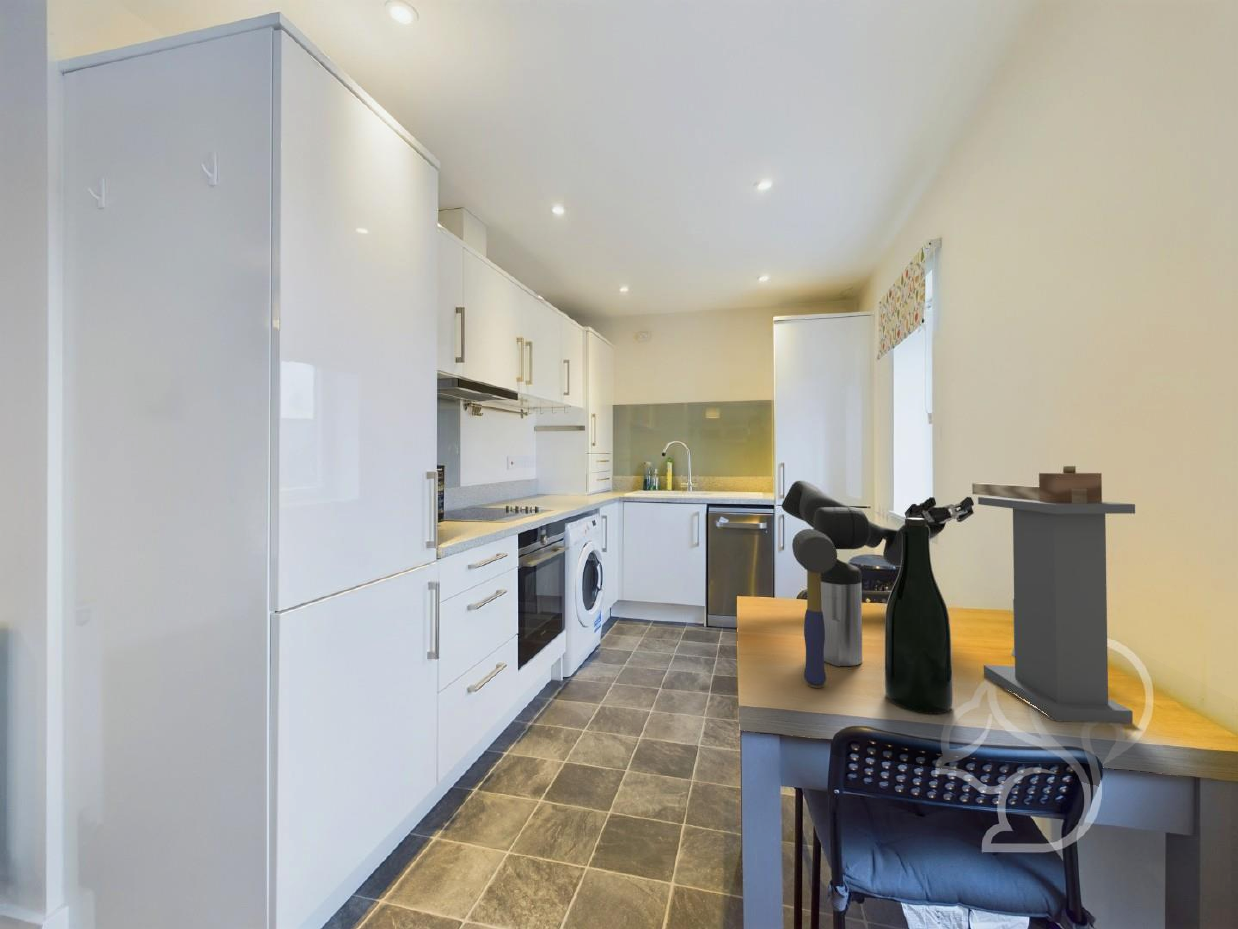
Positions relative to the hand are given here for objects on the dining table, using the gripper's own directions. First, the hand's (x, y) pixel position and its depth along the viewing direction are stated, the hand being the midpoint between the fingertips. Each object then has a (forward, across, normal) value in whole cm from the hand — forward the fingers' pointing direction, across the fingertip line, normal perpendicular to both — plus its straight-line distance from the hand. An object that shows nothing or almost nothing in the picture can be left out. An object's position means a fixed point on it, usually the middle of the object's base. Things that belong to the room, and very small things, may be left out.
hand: (952, 500), depth 121 cm
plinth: (+9, 0, -44) cm, 45 cm away
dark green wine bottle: (+12, +25, -46) cm, 54 cm away
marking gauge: (+21, 0, -10) cm, 24 cm away
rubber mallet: (+7, +41, -43) cm, 60 cm away
